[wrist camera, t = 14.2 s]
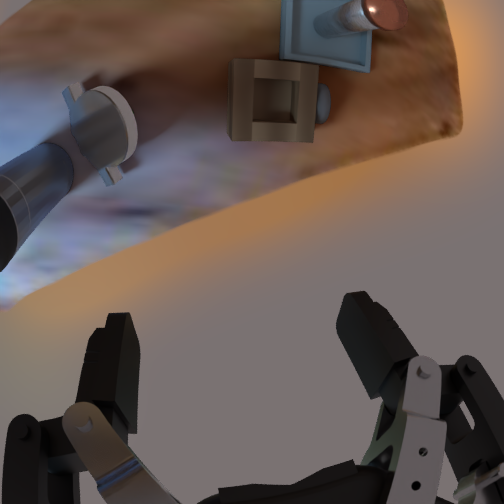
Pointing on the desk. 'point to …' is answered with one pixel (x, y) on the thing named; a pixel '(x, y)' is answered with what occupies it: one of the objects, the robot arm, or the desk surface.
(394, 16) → the pin
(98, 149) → the tabbed white plastic disc
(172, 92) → the desk surface
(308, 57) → the tray
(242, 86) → the block
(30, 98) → the desk surface
